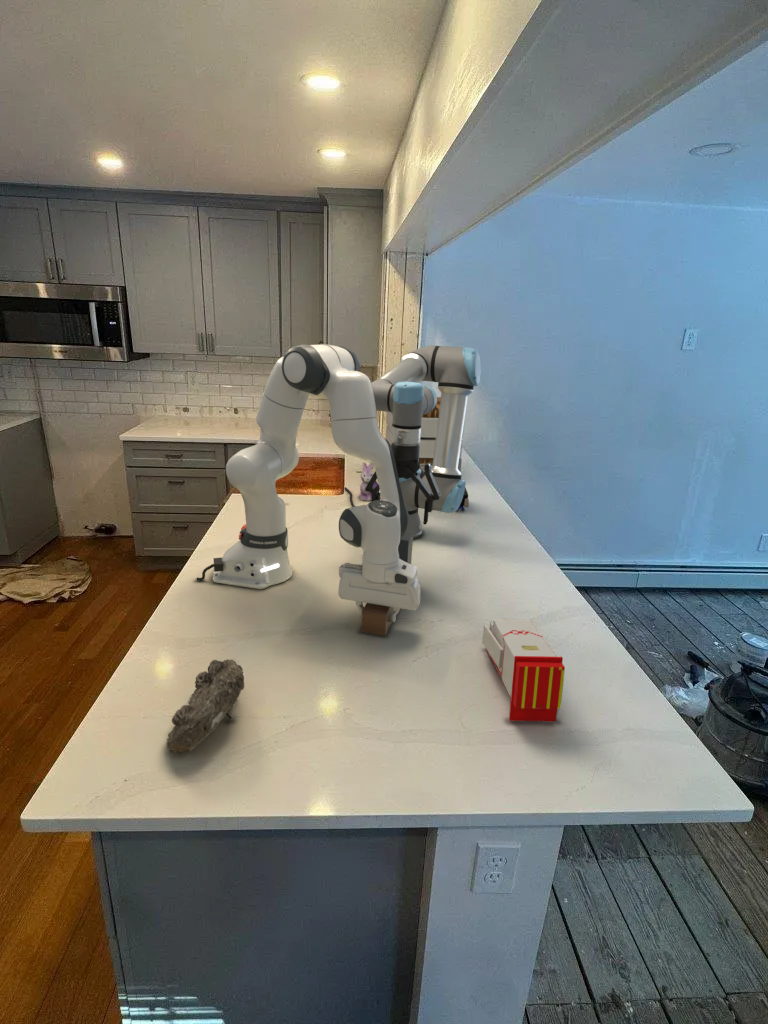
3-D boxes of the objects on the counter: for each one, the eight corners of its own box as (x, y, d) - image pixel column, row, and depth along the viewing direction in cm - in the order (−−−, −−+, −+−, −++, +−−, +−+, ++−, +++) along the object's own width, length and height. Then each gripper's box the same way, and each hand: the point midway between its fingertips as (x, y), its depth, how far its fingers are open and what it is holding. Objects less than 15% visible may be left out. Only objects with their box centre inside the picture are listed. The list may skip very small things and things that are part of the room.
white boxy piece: (382, 463, 289) (386, 382, 275) (445, 464, 293) (451, 384, 279) (390, 482, 257) (394, 392, 243) (460, 483, 261) (468, 394, 247)
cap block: (390, 562, 163) (392, 530, 160) (411, 565, 162) (413, 533, 158) (385, 571, 158) (387, 537, 154) (406, 574, 156) (408, 540, 153)
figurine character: (468, 516, 224) (463, 500, 237) (471, 498, 221) (465, 483, 234) (452, 515, 224) (447, 499, 237) (453, 498, 220) (449, 482, 234)
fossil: (192, 660, 117) (244, 628, 112) (224, 691, 120) (276, 661, 115) (142, 746, 98) (202, 712, 93) (182, 779, 101) (242, 748, 96)
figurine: (364, 502, 230) (365, 466, 225) (353, 495, 238) (354, 460, 233) (384, 500, 234) (386, 464, 229) (373, 492, 242) (375, 458, 237)
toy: (529, 604, 135) (573, 663, 106) (524, 656, 138) (566, 727, 109) (478, 603, 135) (509, 662, 105) (474, 655, 137) (503, 727, 108)
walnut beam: (390, 579, 166) (391, 561, 164) (410, 582, 165) (411, 564, 163) (361, 632, 139) (362, 610, 136) (385, 636, 137) (386, 614, 135)
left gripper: (334, 567, 136) (334, 617, 140) (418, 579, 131) (415, 631, 136) (343, 556, 141) (342, 605, 146) (423, 568, 137) (420, 618, 142)
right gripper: (355, 441, 147) (353, 518, 154) (451, 451, 141) (444, 530, 148) (363, 435, 154) (361, 509, 161) (455, 445, 148) (448, 521, 155)
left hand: (378, 618), depth 141 cm, fingers closed on walnut beam, 6 cm apart
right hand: (401, 519), depth 154 cm, fingers open, 13 cm apart
